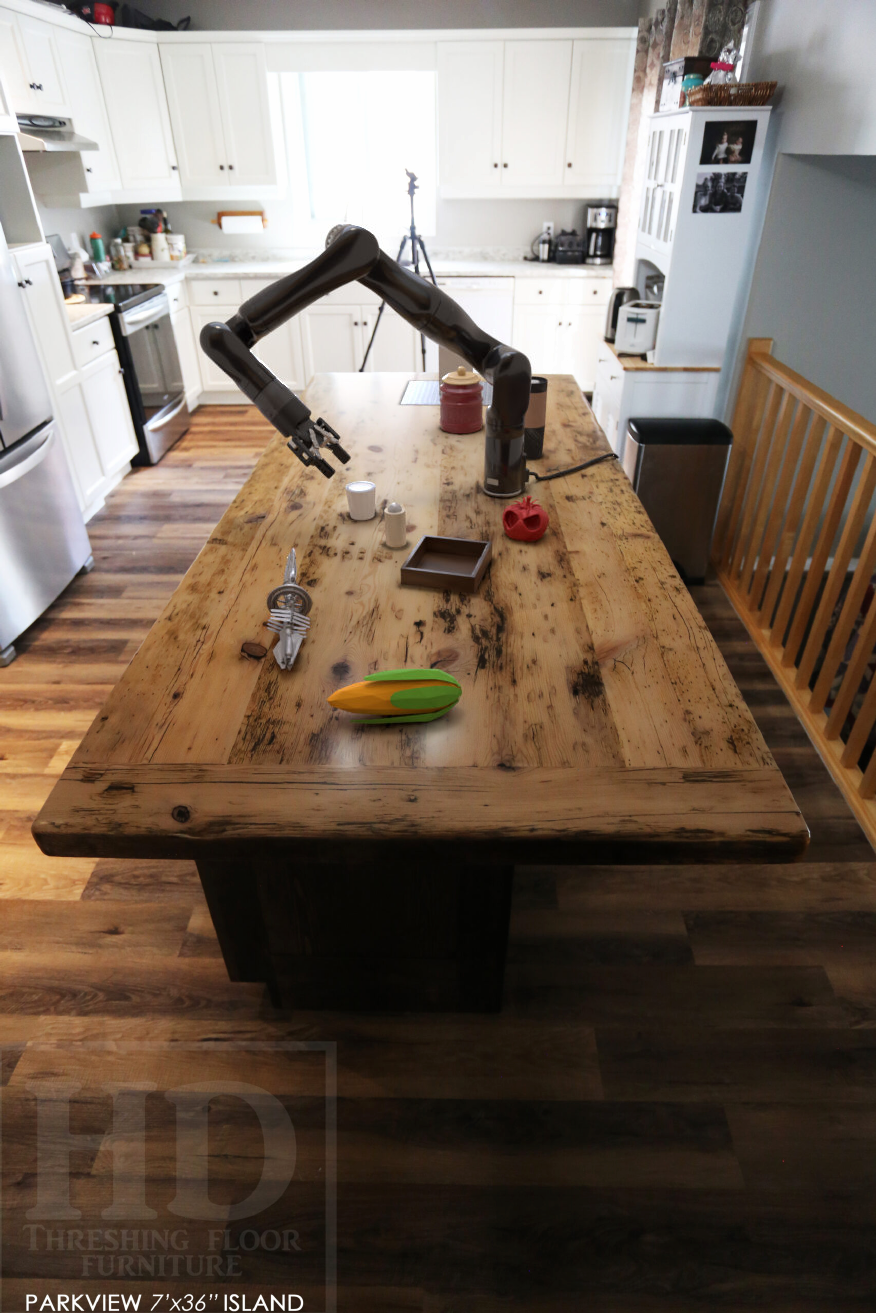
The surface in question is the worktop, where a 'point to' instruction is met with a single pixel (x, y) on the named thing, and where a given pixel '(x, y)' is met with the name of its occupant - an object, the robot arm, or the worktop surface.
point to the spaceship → (289, 614)
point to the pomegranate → (525, 520)
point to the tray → (447, 563)
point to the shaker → (395, 525)
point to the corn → (400, 695)
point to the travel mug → (535, 419)
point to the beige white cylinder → (361, 499)
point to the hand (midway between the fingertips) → (340, 468)
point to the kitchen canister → (461, 402)
